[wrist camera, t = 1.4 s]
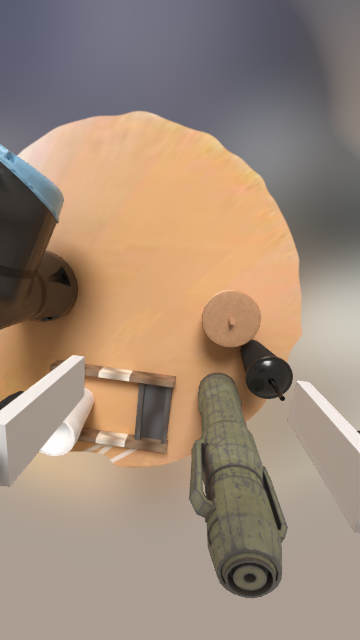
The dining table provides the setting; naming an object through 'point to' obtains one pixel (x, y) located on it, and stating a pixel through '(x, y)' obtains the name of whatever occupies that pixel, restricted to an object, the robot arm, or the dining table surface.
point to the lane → (149, 410)
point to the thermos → (235, 494)
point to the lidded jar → (231, 318)
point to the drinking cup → (265, 371)
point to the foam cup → (69, 428)
